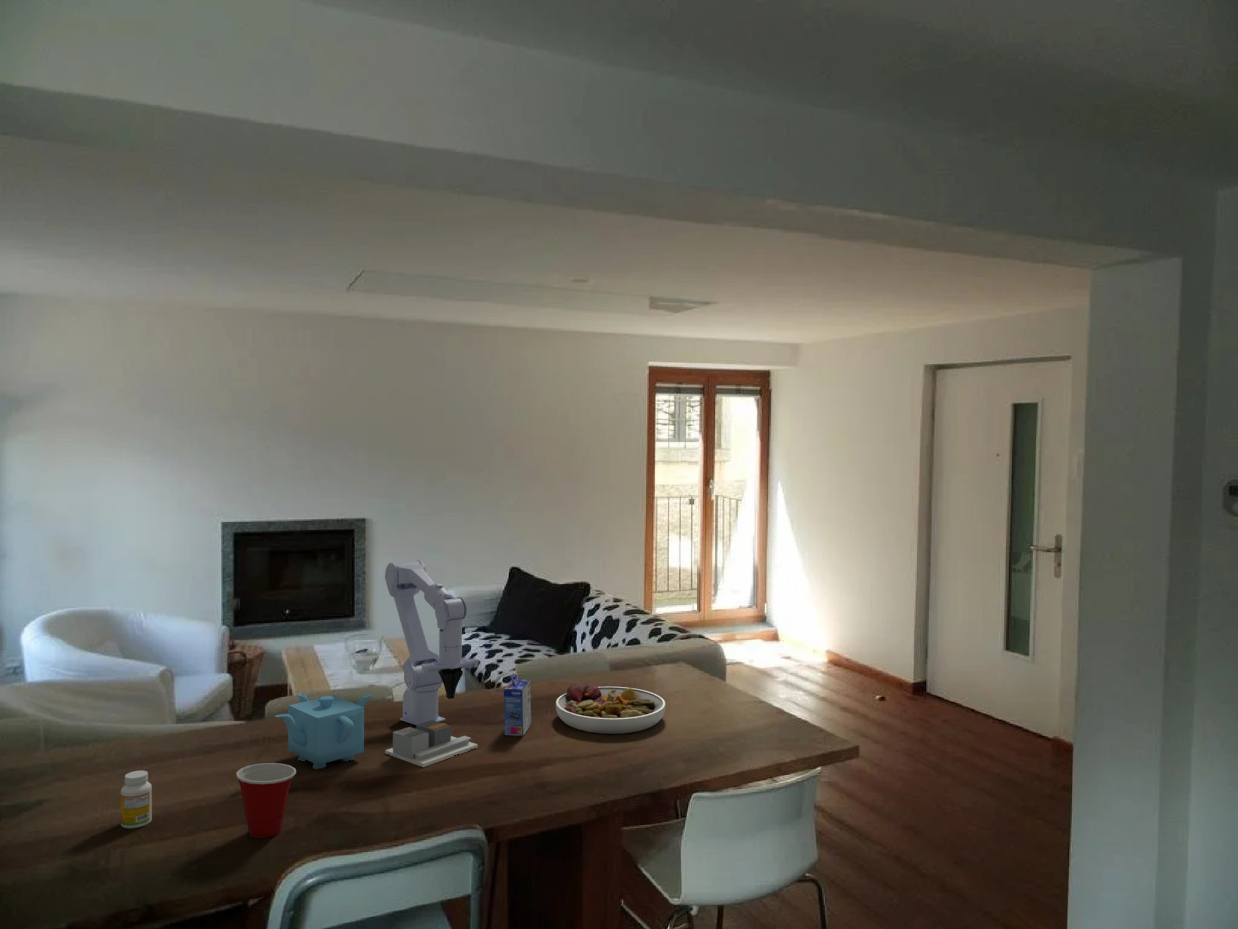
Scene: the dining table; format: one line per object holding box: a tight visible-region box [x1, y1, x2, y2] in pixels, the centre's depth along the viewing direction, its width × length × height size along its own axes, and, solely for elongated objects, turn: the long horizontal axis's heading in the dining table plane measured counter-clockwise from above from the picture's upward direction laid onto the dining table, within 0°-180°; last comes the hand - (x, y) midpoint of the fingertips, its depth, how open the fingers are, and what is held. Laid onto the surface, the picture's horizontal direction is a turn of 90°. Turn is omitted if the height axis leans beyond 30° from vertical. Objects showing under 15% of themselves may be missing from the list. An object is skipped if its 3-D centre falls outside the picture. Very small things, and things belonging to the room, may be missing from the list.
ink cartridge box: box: [503, 673, 532, 737], centre depth 232 cm, size 10×6×14 cm, turn 174°
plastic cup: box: [236, 762, 297, 839], centre depth 171 cm, size 11×11×12 cm
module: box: [415, 720, 452, 748], centre depth 217 cm, size 7×5×5 cm
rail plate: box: [384, 726, 478, 768], centre depth 216 cm, size 14×17×6 cm
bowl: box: [555, 683, 666, 735], centre depth 242 cm, size 30×30×8 cm
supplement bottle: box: [120, 770, 153, 829], centre depth 174 cm, size 5×5×10 cm
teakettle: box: [274, 692, 374, 769], centre depth 210 cm, size 19×19×15 cm
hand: (450, 697), depth 228 cm, fingers closed
